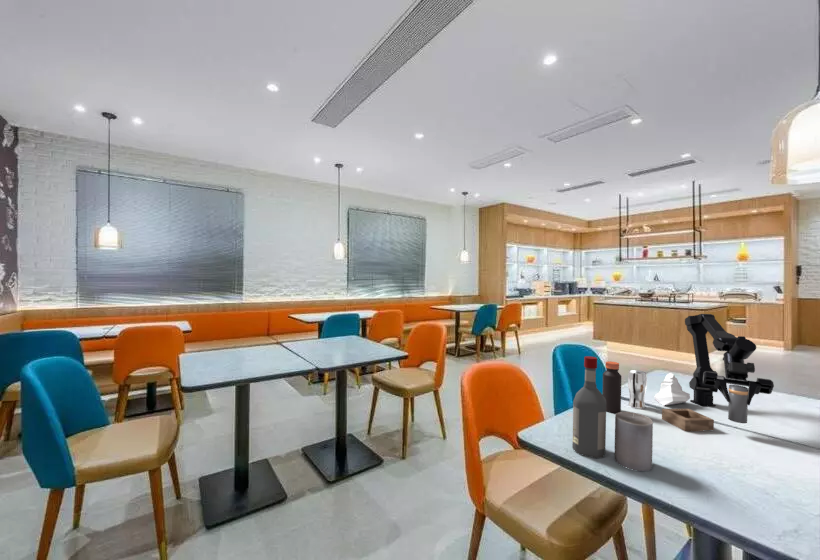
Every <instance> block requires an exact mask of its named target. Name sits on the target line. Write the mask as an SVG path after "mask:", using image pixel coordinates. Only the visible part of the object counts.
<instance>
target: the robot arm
mask: <svg viewBox="0 0 820 560" xmlns="http://www.w3.org/2000/svg"><path fill="white" fill-rule="evenodd" d="M684 325H685V326H686V330H687V331H688V333H690V335H691V336H692V342H693V348H694V349H693V350H694V355H695V364H696V368H695V370H694V371H693V373H692V375H693V377H692V378H691V380H690V381H689V382H688V385H689V386H688V387H689V389H690V390H691V389H692V390H693V399H691V400H690V399H689V401H690V402H691V403H694V404H696V405H698V406H701V407H716V404H715V403H714V396H713V395H714V393H718V391H719V392H720V393H721V394H722V396H723V397H724V398H725V400H726V401H727V403H729V389H728V386H727V384H729V385H739V386H744V387H747V388H748V406H751V402H752V399H753V398H754V396H755V395H759V394H766V395H770V394H772V392H773V389H774V387H775V385H774V381H773V380H772V379H770V378H760V377H756V379H755V381H753V380H748V379H749V378H748V377H749V373H752V374H754V373H755V371H756V368H755V363H754V362H747V363H745V360H747V359H749V358H750V356H751V355H753V354H754V352H755V351H756V350H757V345H756V343H754V342H753V341H751V340H750V339H748V338H746V336H742V335H740V336H739V335H738V336H735V335H734V334H732V333H729V332H727V331H726V330H725V328H723V326H722V325H721V324H720V323H719V321H718V320H717V319H716V317H715V315H714V314H711V313H700V314H696V315H688V316H687V317H686V318H685V319H684ZM707 333H708V334H709V335H710V336H711V337H712V338H713V340H712V345H713V346H714V348H715V350H716V351H718V352H724V353H723V357H722V361H723V362H724V373H725V376H724V375H720V374H718V372H717V371H715V370H713V368H712V367H711V361H710V355H709V349H708V341H707V340H708V339H707Z"/></svg>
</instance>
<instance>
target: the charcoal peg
mask: <svg viewBox="0 0 820 560" xmlns="http://www.w3.org/2000/svg"><path fill="white" fill-rule="evenodd" d="M748 388H749V387H748V386H742V385H735V384H729V385H728V394H729V402H728V405H727V406H728V407H727V408H728V409H727V410H728V412H727V415H728V416H727V419H728V420H729V421H731V422H734V423H739V424H748V406H749V405H748Z"/></svg>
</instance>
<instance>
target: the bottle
mask: <svg viewBox="0 0 820 560" xmlns="http://www.w3.org/2000/svg"><path fill="white" fill-rule="evenodd" d="M605 369H606V370H605V371H604V372H603V373H602V395H603V396H604V397H605V399H606V413H609V414H610V413H612V414H616V413H619V412H622V375H621V374H620V372H619V369H620V363H619V362H616V361H605Z"/></svg>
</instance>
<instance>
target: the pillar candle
mask: <svg viewBox="0 0 820 560" xmlns="http://www.w3.org/2000/svg"><path fill="white" fill-rule="evenodd" d="M614 417H615V420H614V452H613V453H614V456H613V457H614V461H615V463H617V464H618V465H619V464H620V465H619V466H621V465H622V466H621V467H623V466H624V467H623V468H625V467H627V468H629V470H630V469H633V470H632V471H634V470H637V471H636V472H646V471H647V472H649V471H651V470H652V469H653V446H654V445H653V438H654V437H653V435H654V431H653V430H654V429H653V428H654V425H653V424H654V422H653V420H652V419H651V418H650V417H648V416H645V415H643V414H640V413H635V412H629V411H625V412H624V411H621V412H619V413H615V416H614ZM627 468H626V469H627Z"/></svg>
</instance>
